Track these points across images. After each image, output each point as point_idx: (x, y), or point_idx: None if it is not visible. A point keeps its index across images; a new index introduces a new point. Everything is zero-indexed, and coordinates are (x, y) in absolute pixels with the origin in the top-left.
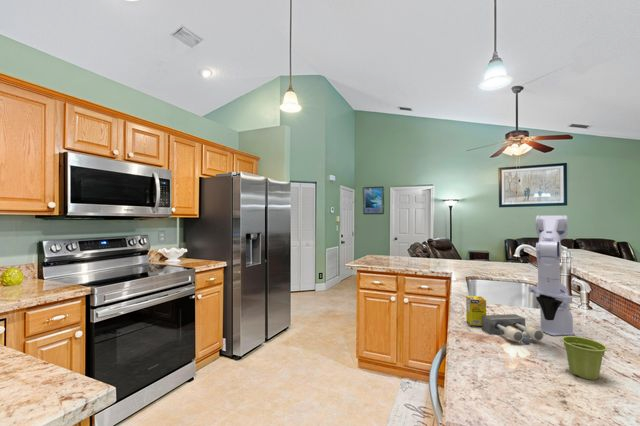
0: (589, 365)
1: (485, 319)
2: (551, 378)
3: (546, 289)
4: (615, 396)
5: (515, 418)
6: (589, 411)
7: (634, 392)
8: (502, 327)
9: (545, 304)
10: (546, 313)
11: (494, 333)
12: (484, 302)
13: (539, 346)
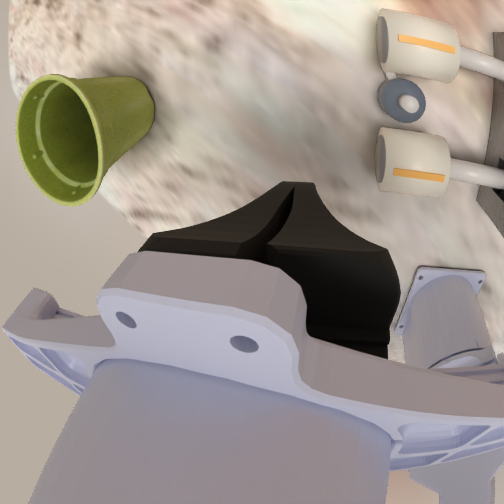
0: (65, 111)
1: None
2: (103, 5)
3: (71, 418)
4: None
5: None
6: (19, 33)
7: None
8: (488, 57)
9: (231, 227)
10: (273, 194)
11: (496, 51)
12: None
13: (350, 127)
